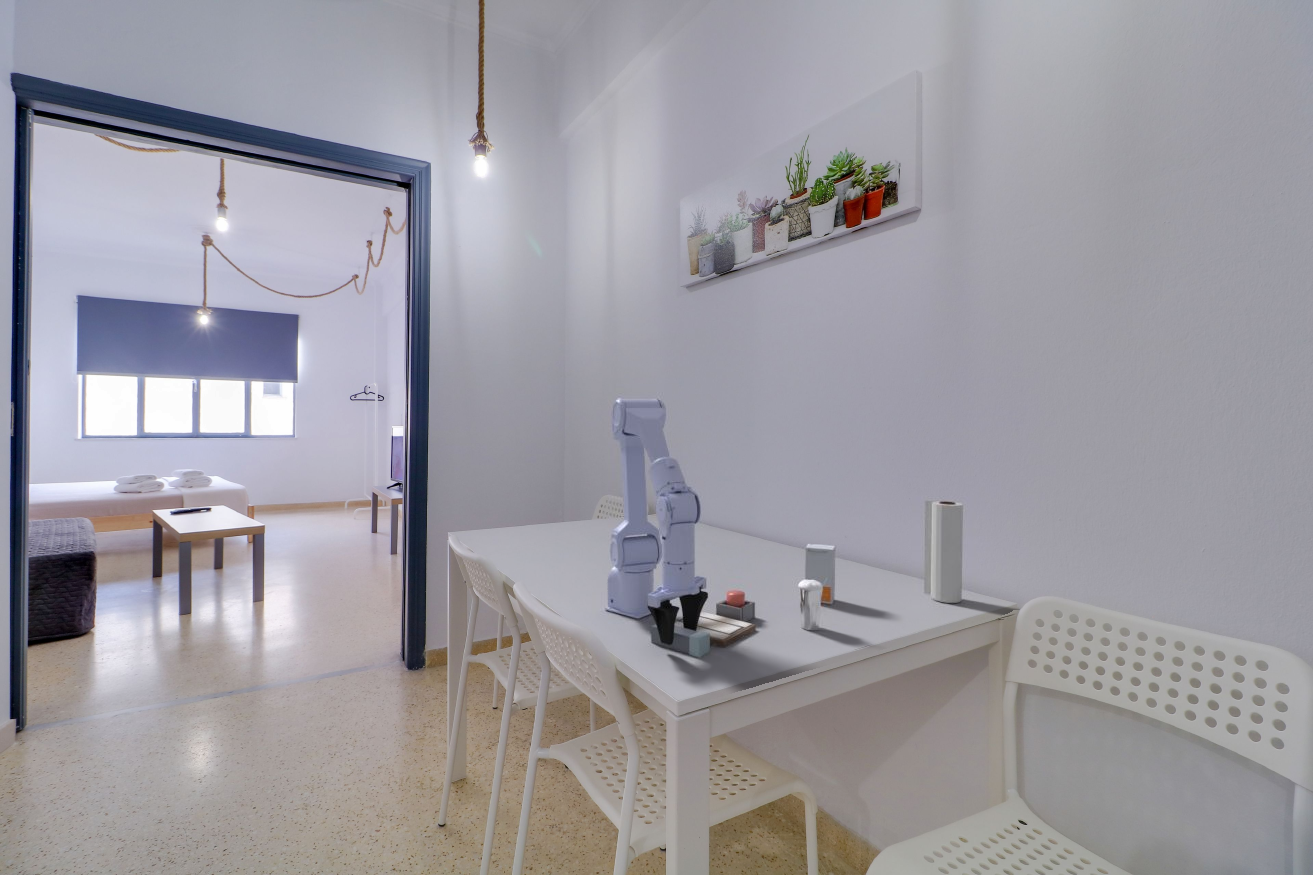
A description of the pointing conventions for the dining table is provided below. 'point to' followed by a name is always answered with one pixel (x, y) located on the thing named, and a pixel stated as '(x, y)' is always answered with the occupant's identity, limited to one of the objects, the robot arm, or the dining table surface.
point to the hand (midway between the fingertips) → (678, 637)
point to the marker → (685, 640)
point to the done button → (736, 598)
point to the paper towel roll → (943, 550)
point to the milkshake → (810, 603)
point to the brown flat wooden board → (721, 628)
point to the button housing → (736, 611)
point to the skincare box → (821, 569)
